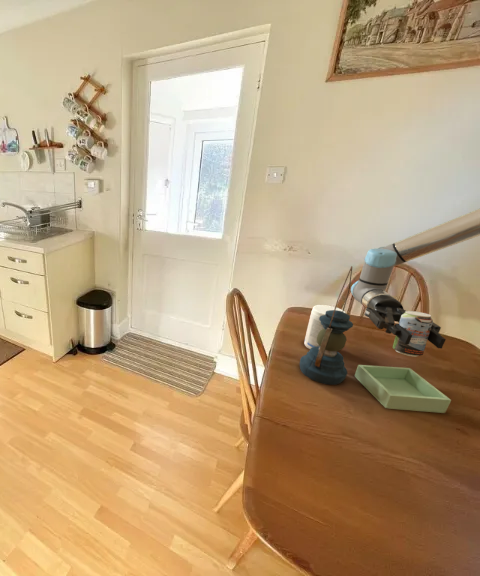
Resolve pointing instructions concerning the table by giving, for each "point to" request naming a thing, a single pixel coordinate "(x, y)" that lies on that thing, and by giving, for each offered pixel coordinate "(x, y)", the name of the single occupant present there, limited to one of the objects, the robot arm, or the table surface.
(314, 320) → the supplement tub
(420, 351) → the beverage can
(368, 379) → the green square tray
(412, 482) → the table surface
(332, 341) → the lantern
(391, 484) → the table surface
